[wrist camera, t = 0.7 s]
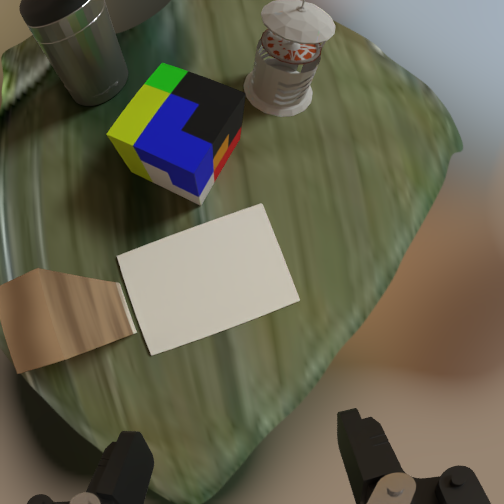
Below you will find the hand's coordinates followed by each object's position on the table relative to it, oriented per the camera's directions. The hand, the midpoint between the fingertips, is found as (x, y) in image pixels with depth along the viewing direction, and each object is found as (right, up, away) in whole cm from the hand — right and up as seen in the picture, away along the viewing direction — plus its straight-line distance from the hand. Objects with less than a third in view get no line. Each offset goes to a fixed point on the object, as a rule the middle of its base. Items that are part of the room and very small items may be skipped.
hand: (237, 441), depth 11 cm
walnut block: (-16, 0, +23) cm, 28 cm away
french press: (+5, +31, +30) cm, 43 cm away
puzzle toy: (-8, +19, +27) cm, 34 cm away
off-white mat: (-5, +4, +25) cm, 25 cm away
